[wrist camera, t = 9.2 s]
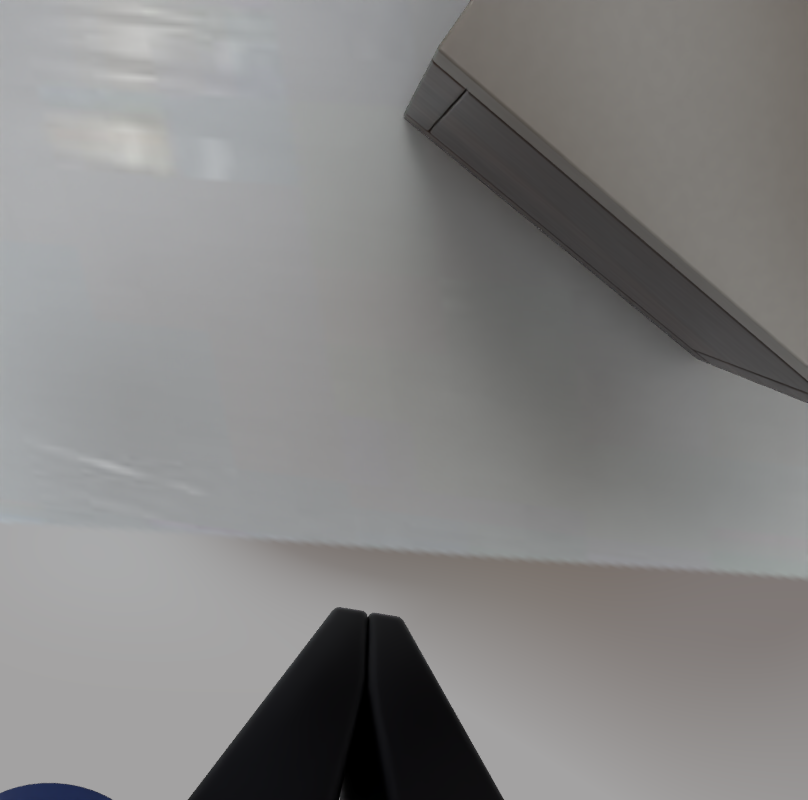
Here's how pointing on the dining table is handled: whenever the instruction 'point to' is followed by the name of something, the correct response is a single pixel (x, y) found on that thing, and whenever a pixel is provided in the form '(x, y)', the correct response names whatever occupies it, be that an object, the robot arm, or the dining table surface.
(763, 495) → the dining table surface
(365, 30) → the dining table surface
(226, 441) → the dining table surface
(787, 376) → the wooden box
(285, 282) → the dining table surface
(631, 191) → the grey square plate
